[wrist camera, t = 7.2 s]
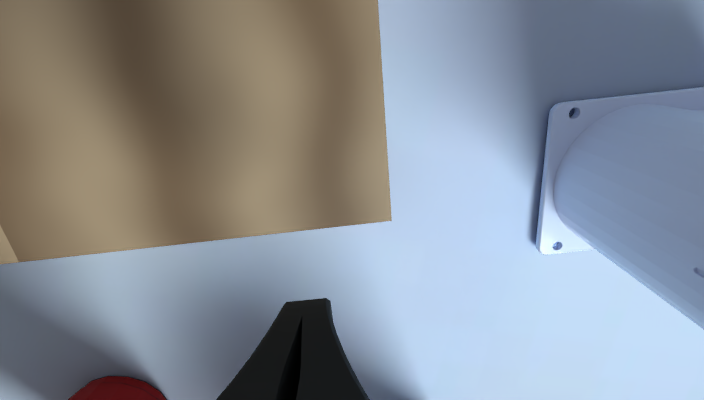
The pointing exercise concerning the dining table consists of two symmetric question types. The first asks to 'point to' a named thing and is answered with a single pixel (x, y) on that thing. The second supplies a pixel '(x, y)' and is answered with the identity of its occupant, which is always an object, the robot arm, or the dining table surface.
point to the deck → (186, 122)
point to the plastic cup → (117, 390)
